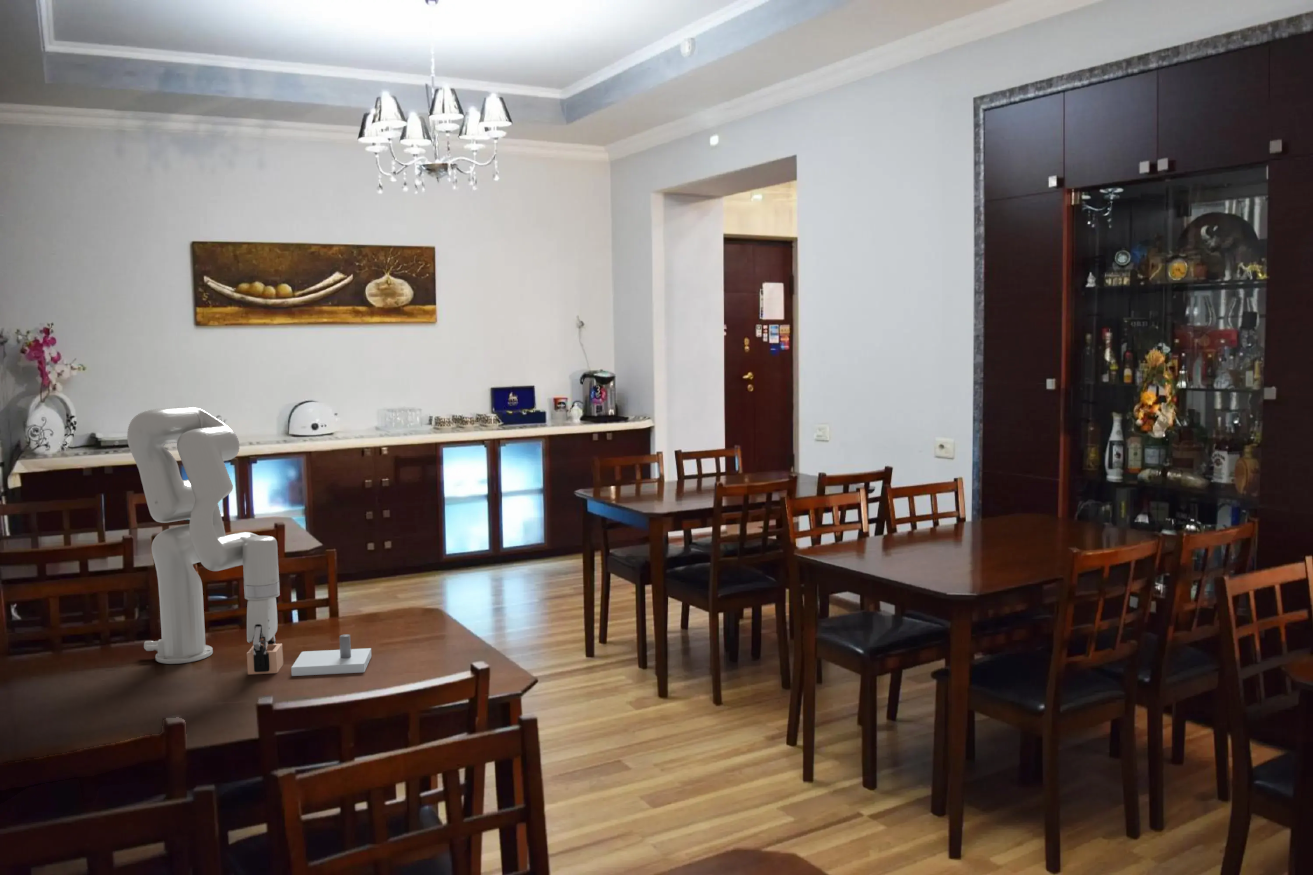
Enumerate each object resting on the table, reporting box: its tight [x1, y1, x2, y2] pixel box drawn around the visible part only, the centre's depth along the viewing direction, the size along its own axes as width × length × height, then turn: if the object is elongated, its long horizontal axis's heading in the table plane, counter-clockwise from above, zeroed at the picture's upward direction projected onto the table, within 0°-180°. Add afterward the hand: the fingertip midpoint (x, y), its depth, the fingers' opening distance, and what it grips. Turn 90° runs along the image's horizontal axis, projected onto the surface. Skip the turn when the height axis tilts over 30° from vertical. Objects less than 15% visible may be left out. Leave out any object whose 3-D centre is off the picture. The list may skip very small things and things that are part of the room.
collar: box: [246, 643, 284, 675], centre depth 239 cm, size 6×6×5 cm
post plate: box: [290, 633, 372, 677], centre depth 241 cm, size 16×12×7 cm
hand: (265, 665), depth 239 cm, fingers closed on collar, 6 cm apart
